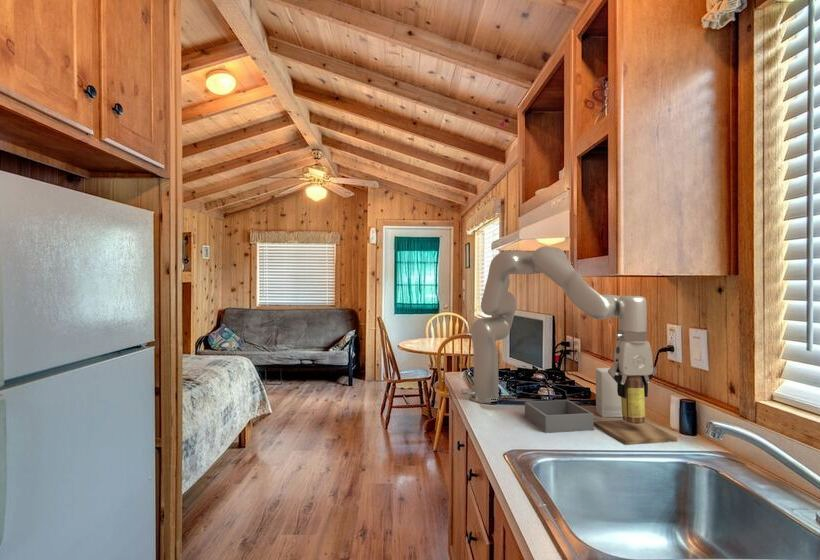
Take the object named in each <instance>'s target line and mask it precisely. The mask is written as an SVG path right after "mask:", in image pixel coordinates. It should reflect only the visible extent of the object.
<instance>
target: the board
mask: <svg viewBox="0 0 820 560" xmlns="http://www.w3.org/2000/svg"><path fill="white" fill-rule="evenodd" d="M594 428H597V429H599V430H600V431H601V432H604V433H605V434H607V435H609V436H610V437H612V438H613V439H616V440H617V441H618V442H620V443H622V444H624V445H625V446H628V445H629V446H630V445H643V444H658V442H661V443H669V442H668V441H676V442H678V437H677V436H675V435H674V434H671V433H669V432H668V431H665V430H663V429H661V428H659V427H656V426H655V425H652V424H650V423H648V422H646V421H645V422H644V423H640V424H635V423H629V422H627V421H624V420H623V419H618V420H615V419H614V420H601V421H598V420H597V421H594Z"/></svg>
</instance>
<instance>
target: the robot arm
mask: <svg viewBox="0 0 820 560" xmlns="http://www.w3.org/2000/svg"><path fill="white" fill-rule="evenodd" d="M571 263H572V262H571V261H570V260H568V257H567V255H566V252H565V251H564V250H563V249H561V248H558V247H555V246H541V247H538V248H536V250H535V251H520V250H507V251H506V250H505V251H502V252H500V253H497V254H496V255H495V256H494V257H493V258H492V260H491V262H490V264H489V267H488V268H489V269H488V275H487V277H486V282H485V285H484V289H483V294H482V298H481V303H480V309H481V312H482V313H483V314H485V315H487V317H481V318H478V319H475V320H474V322H473V323H472V325H471V328H470V336H471V340H472V349H473V351H472V352H473V385H472V386H471V387H470V388H468V389H467V388H466V389H465V388H464V389H462V388H461V395H466V396H469V399H470V401H473V402H475V403H481V404H492V403H491V402H494V401H497V399H496V398H498V397H499V350H498V347H497V343H496V341H501V340H504V339H505V338H507V337H508V336H509V333H510V332H511V328H512V325H513V322H514V318H515V314H516V310H517V300H516V297H515V295H514V294H513V293H512V292H510V291H508V290H509V288H510V275H533V274H534V275H535V274H544V276H546V277H547V278H549V280H551V281H552V282H554V283H555V285H557V286H558V287H560V288H561V289H562V291H563V292H564V294H565V295H566V297H567V298H568V299H569V301H571V303H573V305H574V306H576V307H577V308H578V309H580V310H581V311H582V312H583V313H584V314H585V315H587V316H588V317H590V318H592V319H595V320H600V321H601V320H606V319H607V320H608V319H613V318H618V332H617V333H615V338H617V339H618V340H616V344H615V348H614V356H613V357H614V359H613V364H612V365H611V366H610V367H609V368H610V369H609V370H608V373H609V374H610V375H611V376H612V378H613V379H614V380H615V381H616V382H617V393H618V396H620V397H623V398H626V385H625V384H624V383H625V381H626V378H627V376H641V378H642V381H643V383H644V398H648V395H649V393H648V392H649V384H650V382H651V380H652V379H653V378H654V376H655V375H656V373H657V372H658V369H657V368H656V367H655V366H654V362H653V361H654V360H653V352H652V347H651V344H650V341H648V339H647V337H648V336H647V335H648V333H647V327H648V326H647V323H648V322H647V319H648V317H647V316H648V315H647V314H648V313H647V312H648V311H647V310H648V309H647V307H648V306H647V299H646V297H644V296H642V295H623V296H622V295H615V294H600V293H599V292H598V291H596V290H595V289H594V288H592V287H591V286H590V285H589V284H588V283H587V282H586V281H585V280H584V279H583V277H582V274H581V275H579V273H578V272H577V271H575V269H574V268H573V266H572V265H571ZM615 372H617V373H618V374H617V375H616V373H615ZM621 377H622V378H621ZM489 399H490V400H489ZM491 399H496V400H491ZM498 400H499V399H498Z"/></svg>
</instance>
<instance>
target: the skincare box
mask: <svg viewBox="0 0 820 560" xmlns="http://www.w3.org/2000/svg"><path fill="white" fill-rule="evenodd" d="M610 368H611V367H595V368H594V369H595V406H596V408H595V409H596V410H595V411H596V413H597V414H599V415H600V416H601V418H623V415H622V404H621V397H620V396H618V393H617V382H616V381H615V380H614V379H613V378H612V376H611V375H610V374H609V373H608V370H609V369H610ZM615 373H616V375H617V374H618V373H617V372H615Z"/></svg>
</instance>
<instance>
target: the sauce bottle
mask: <svg viewBox="0 0 820 560" xmlns="http://www.w3.org/2000/svg"><path fill="white" fill-rule="evenodd" d="M621 378H622V377H621ZM624 384H625V385H626V398H623V397H621V404H622V415H623V417H622V420H624V421H627V422H629V423H635V424H640V423H644V422H646V421H645V419H646V418H645V417H646V404H645V403H646V401H645V397H644V383H643V381H642V378H641V376H627V378H626V381H625V383H624Z"/></svg>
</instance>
